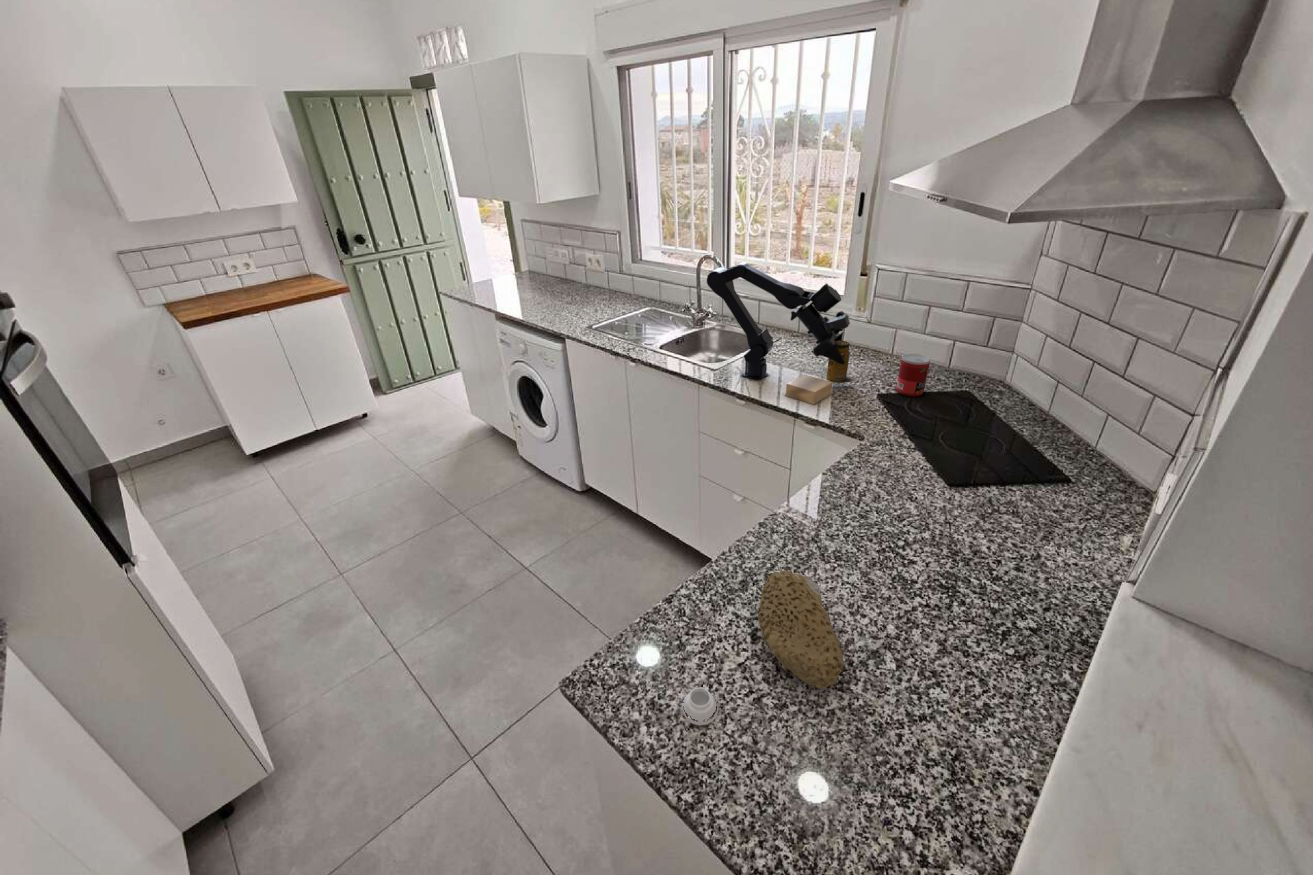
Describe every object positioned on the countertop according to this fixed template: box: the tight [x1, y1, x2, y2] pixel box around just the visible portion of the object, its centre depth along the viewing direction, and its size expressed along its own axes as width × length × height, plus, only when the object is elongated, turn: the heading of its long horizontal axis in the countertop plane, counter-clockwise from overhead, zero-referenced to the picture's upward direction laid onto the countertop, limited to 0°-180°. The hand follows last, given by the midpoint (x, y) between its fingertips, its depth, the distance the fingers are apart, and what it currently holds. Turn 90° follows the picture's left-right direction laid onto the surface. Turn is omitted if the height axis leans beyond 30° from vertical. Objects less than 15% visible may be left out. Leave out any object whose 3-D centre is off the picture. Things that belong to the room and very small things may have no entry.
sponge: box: [757, 570, 845, 689], centre depth 84 cm, size 13×8×20 cm
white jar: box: [681, 686, 719, 727], centre depth 75 cm, size 5×3×5 cm
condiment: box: [822, 340, 857, 385], centre depth 168 cm, size 7×8×12 cm
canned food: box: [895, 353, 931, 397], centre depth 164 cm, size 8×8×11 cm
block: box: [785, 373, 833, 405], centre depth 167 cm, size 10×10×4 cm
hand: (846, 360), depth 167 cm, fingers closed on condiment, 6 cm apart
